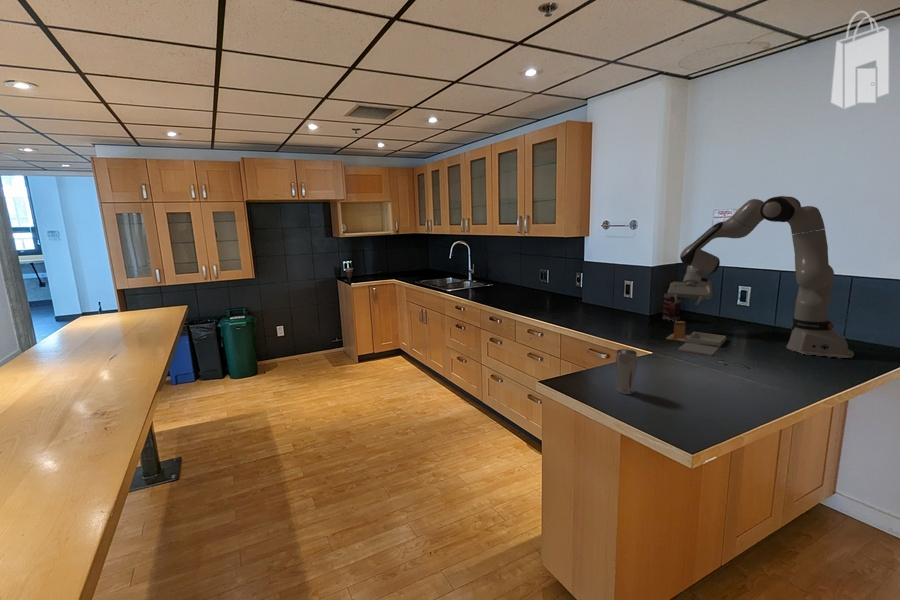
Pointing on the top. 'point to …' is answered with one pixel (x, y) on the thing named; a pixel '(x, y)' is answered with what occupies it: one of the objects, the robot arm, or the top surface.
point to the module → (679, 329)
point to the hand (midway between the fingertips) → (686, 303)
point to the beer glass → (626, 370)
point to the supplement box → (671, 308)
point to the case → (702, 343)
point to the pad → (677, 338)
